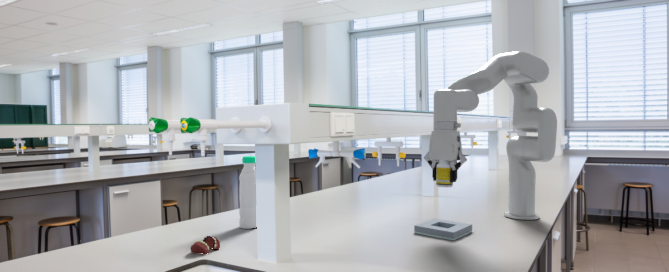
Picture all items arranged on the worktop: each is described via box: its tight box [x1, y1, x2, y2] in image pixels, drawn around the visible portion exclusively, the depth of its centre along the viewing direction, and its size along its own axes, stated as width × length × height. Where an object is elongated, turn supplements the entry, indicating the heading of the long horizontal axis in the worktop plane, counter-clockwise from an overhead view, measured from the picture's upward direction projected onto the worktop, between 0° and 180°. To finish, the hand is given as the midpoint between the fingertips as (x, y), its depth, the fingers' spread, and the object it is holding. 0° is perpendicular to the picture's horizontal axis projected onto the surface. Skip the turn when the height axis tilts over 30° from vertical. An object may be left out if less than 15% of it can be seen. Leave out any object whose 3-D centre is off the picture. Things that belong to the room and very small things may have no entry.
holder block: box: [413, 218, 473, 241], centre depth 144 cm, size 14×14×2 cm
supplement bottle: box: [435, 160, 454, 188], centre depth 143 cm, size 5×5×10 cm
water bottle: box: [238, 155, 257, 230], centre depth 151 cm, size 7×7×25 cm
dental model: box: [190, 235, 221, 255], centre depth 123 cm, size 6×4×8 cm
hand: (444, 180), depth 143 cm, fingers closed on supplement bottle, 5 cm apart
